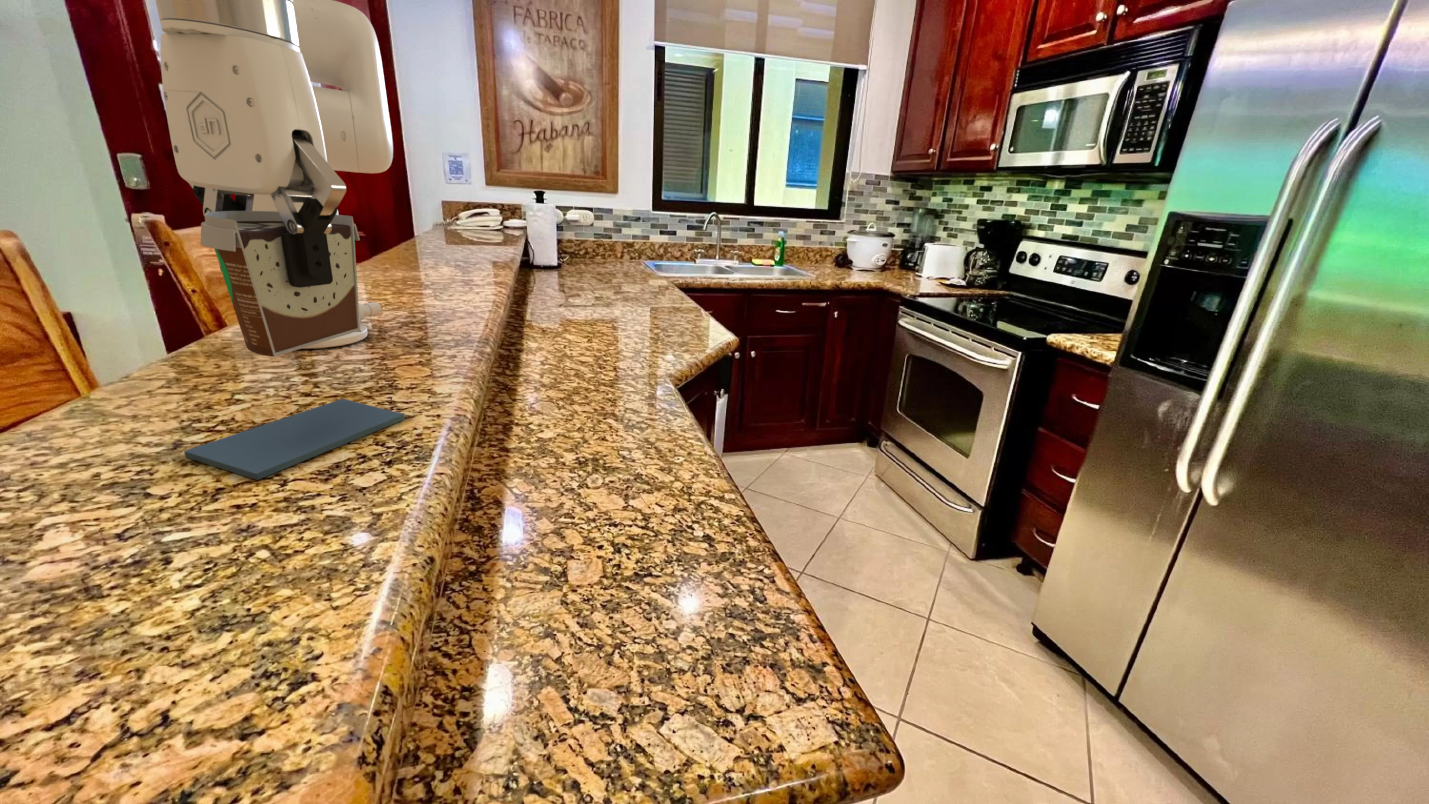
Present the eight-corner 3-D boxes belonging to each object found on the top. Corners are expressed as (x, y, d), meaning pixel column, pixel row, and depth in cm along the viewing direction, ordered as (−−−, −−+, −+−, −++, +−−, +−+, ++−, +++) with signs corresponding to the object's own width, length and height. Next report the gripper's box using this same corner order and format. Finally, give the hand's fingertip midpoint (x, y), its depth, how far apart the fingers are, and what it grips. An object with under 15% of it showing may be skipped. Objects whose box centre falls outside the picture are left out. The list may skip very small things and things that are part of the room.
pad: (343, 403, 57) (342, 398, 57) (405, 419, 55) (404, 413, 55) (185, 457, 44) (183, 450, 44) (257, 480, 42) (255, 473, 42)
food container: (310, 319, 52) (291, 209, 49) (371, 327, 52) (357, 216, 49) (179, 352, 41) (142, 211, 37) (256, 362, 40) (227, 220, 37)
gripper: (79, 2, 37) (148, 269, 44) (266, 3, 33) (314, 301, 39) (205, 34, 44) (250, 261, 50) (374, 40, 40) (400, 288, 46)
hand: (277, 277), depth 45 cm, fingers closed on food container, 6 cm apart
